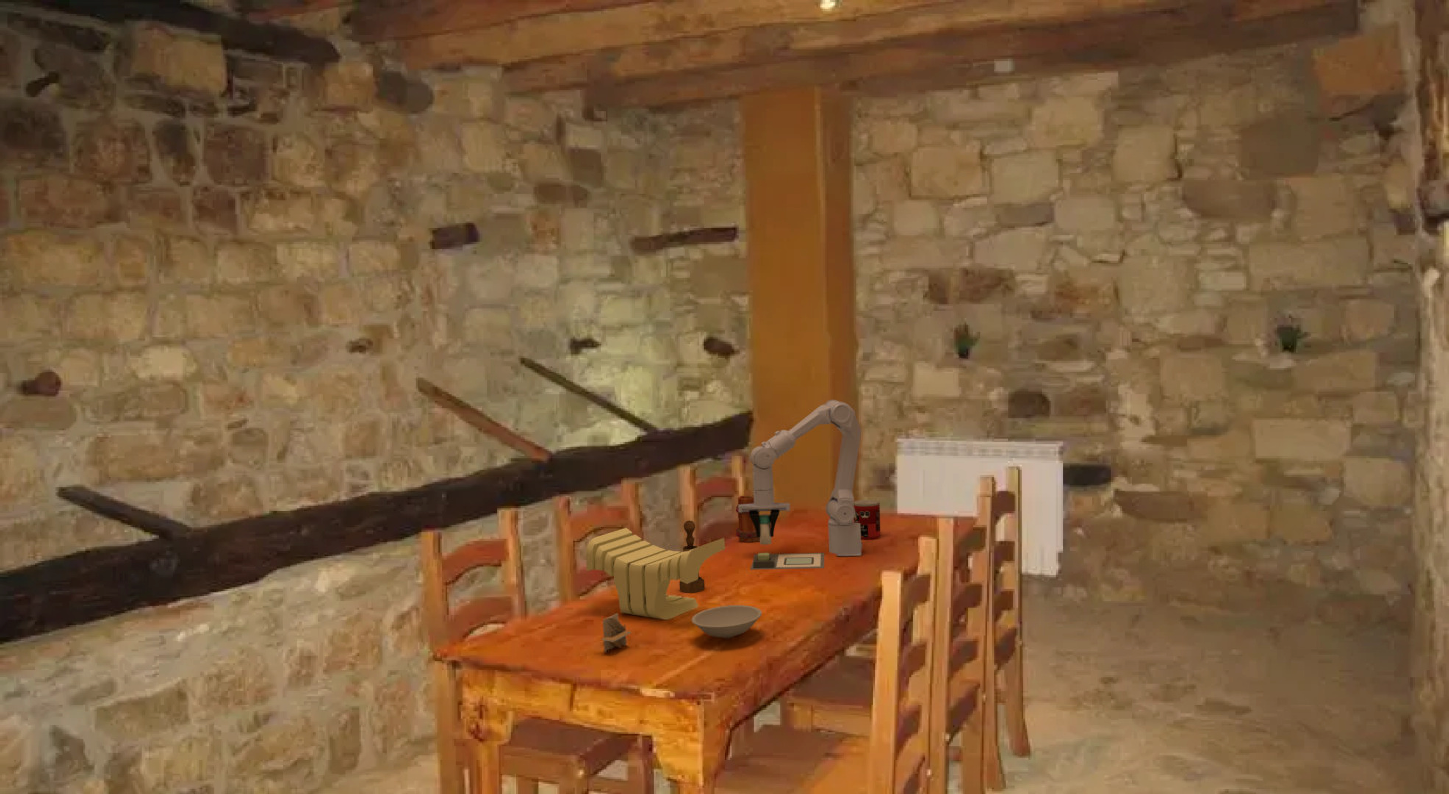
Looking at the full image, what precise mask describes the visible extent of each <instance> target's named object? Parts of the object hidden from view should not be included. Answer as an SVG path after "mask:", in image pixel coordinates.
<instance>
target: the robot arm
mask: <svg viewBox="0 0 1449 794" xmlns="http://www.w3.org/2000/svg"><path fill="white" fill-rule="evenodd" d="M831 424H833V425H834V426H835V427H836V428H837V430H838V431H839V432H840V433H841V434H842V436H841V442H840V449H839V455H838V462H837V469H836V477H835V482H834V488H833V490H832V491H831V494H830V497H829V500H828V502H827V503H826V506H825V512H826V514H827V516H828V517H829V519H828V521H827V523H828V525H827V526H828V528H827V530H828V551H829V553H831V554H835V555H836V557H853V556H854V557H860V556H862V549H863V542H862V540H861V530H860V523H854V517H855V509H854V502H855V499H854V498H855V497H854V494H853V488H854V483H855V476H856V470H857V461H858V456H859V448H860V444H861V443H860V442H861V436H862V428H861V426H860V424H859V421H858V419H857V417H856V411H855V410H854V409H853V408H852V407H851V406H850V405H849V404H848V403H846V402H843V401H839V400H837V399H829V400H828V401H826V403H824V404H821V405H819V406H818V407H817V408H815V409H814V410H813V411H812V412H811V413H810V414H808V415H807V416H806V417H804V418H803V419H802V420H801V421H799V422H798V423H797V424H795V425H794V426H793V427H792V428H791V429H789V430H785V429H782V430H777V431H775V432H774V435H773V436H772V437H771V438H768V440H767V441H763V442H761V446H756V447H755V448H753V449H752V450H751V453H750V456H749V460H750V462H751V463H752V489H753V496H754V503H752V504H740V505H739V506H738V509H739V512H749V516H750V518H751V520H752V522H753V524H754V526H755V529H756V533H757V537H760V529H759V515H760V512H770V514H769V515H770V519H771V538H774V532H775V526H776V523H777V520H778V519H779V516H780V512H781V511H782V512H785V511H786V512H790V511H791V502H775V496H774V491H775V490H774V473H773V466H774V463H775V460H778V459H779V458H780V457H782V456H783V455H784V454H786V453H787V452H789V451H790V450H791V449H792V448H794V447H795V445H796V442H797V441H796V440H798V439H800V438H801V437H802V436H804V435H806V434H807V433H808V432H810V431H812V430H813V429H815V428H816V427H817V426H819V425H831ZM759 511H760V512H759Z"/></svg>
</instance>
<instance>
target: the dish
mask: <svg viewBox="0 0 1449 794" xmlns="http://www.w3.org/2000/svg"><path fill="white" fill-rule="evenodd" d="M762 614H763V613H762V610H761V609H760V608H759V607H755V606H750V605H744V604H743V605H742V604H741V605H739V604H735V605H733V604H732V605H722V606H717V607H711V608H707V609H704V610H702V611H700V612H698V613H696V614H694V615H693V616H692V618H691V622H692V624H693V625H695V626H697V627H698V629H699V630H701V631H702V632H703V633H705V634H707V635H709V636H710V637H711V636H712V637H714V638H715V637H716V638H724V639H732V638H733V637H736V636H739V635H741V634H744V633H745V632H747V631H748V630H750V629H751V628H752V627H753V626H754V624H755V623H756V622H757V620H758V619H760V618H761V616H762Z"/></svg>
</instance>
